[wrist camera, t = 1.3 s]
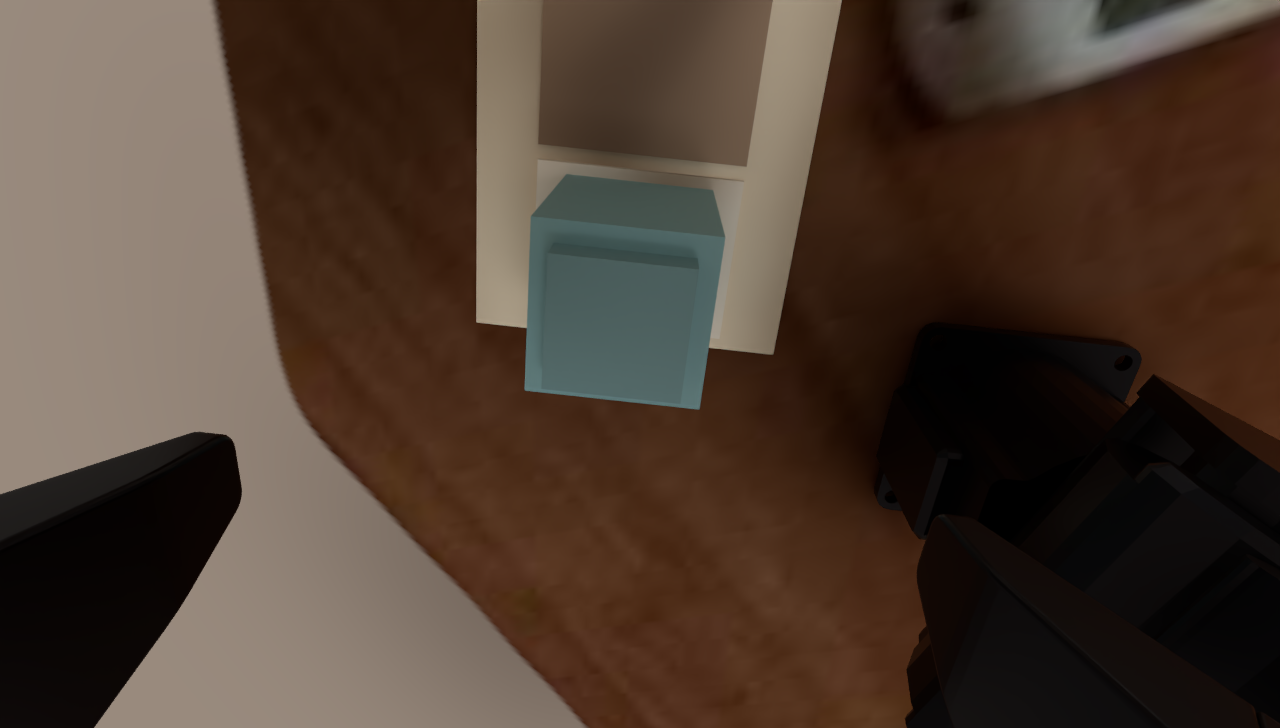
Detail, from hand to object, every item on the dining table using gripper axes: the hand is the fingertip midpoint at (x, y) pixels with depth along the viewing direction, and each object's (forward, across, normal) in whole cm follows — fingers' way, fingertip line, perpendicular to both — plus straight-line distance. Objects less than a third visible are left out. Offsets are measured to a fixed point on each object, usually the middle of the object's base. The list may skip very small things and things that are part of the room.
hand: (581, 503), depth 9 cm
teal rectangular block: (+12, 0, 0) cm, 12 cm away
